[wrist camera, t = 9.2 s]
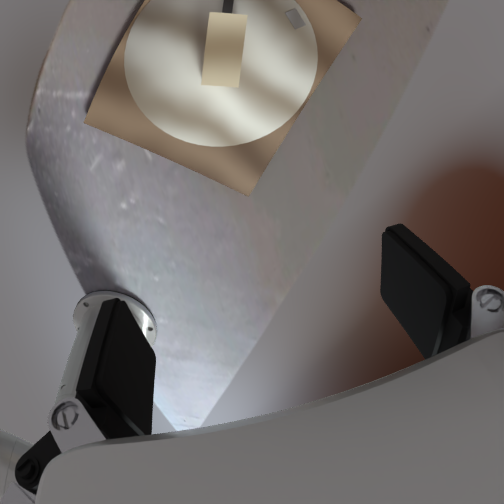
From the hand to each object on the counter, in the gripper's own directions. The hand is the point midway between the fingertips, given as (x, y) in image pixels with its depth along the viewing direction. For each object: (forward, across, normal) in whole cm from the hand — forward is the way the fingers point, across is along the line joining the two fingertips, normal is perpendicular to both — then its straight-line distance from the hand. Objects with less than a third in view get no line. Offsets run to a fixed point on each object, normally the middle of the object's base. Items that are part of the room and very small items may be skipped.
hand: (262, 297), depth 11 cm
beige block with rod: (+22, -3, -13) cm, 26 cm away
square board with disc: (+24, -2, -10) cm, 26 cm away
